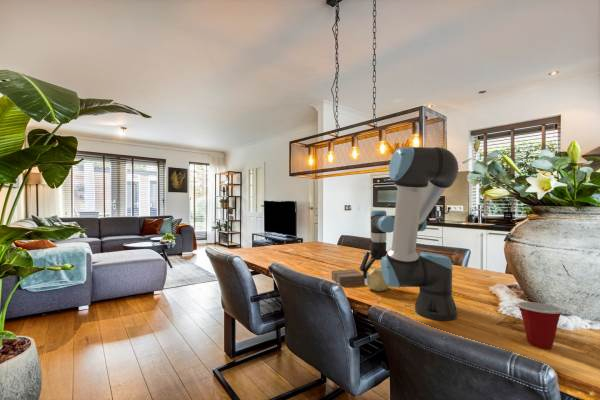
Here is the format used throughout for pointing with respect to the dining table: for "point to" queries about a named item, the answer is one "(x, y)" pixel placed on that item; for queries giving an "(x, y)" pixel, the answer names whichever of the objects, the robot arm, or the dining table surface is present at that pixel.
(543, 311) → the plastic cup
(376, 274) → the sculpture
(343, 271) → the walnut block
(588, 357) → the dining table surface
